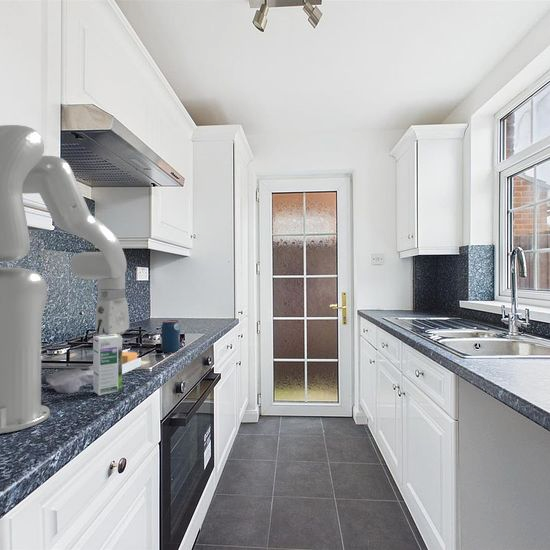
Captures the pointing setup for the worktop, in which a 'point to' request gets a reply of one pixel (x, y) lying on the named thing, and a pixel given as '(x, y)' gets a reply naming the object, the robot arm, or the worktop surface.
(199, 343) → the worktop surface
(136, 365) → the channel walls
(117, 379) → the syrup box
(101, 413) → the worktop surface
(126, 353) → the orange block
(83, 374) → the stone block
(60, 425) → the worktop surface
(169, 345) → the soda can
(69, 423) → the worktop surface
